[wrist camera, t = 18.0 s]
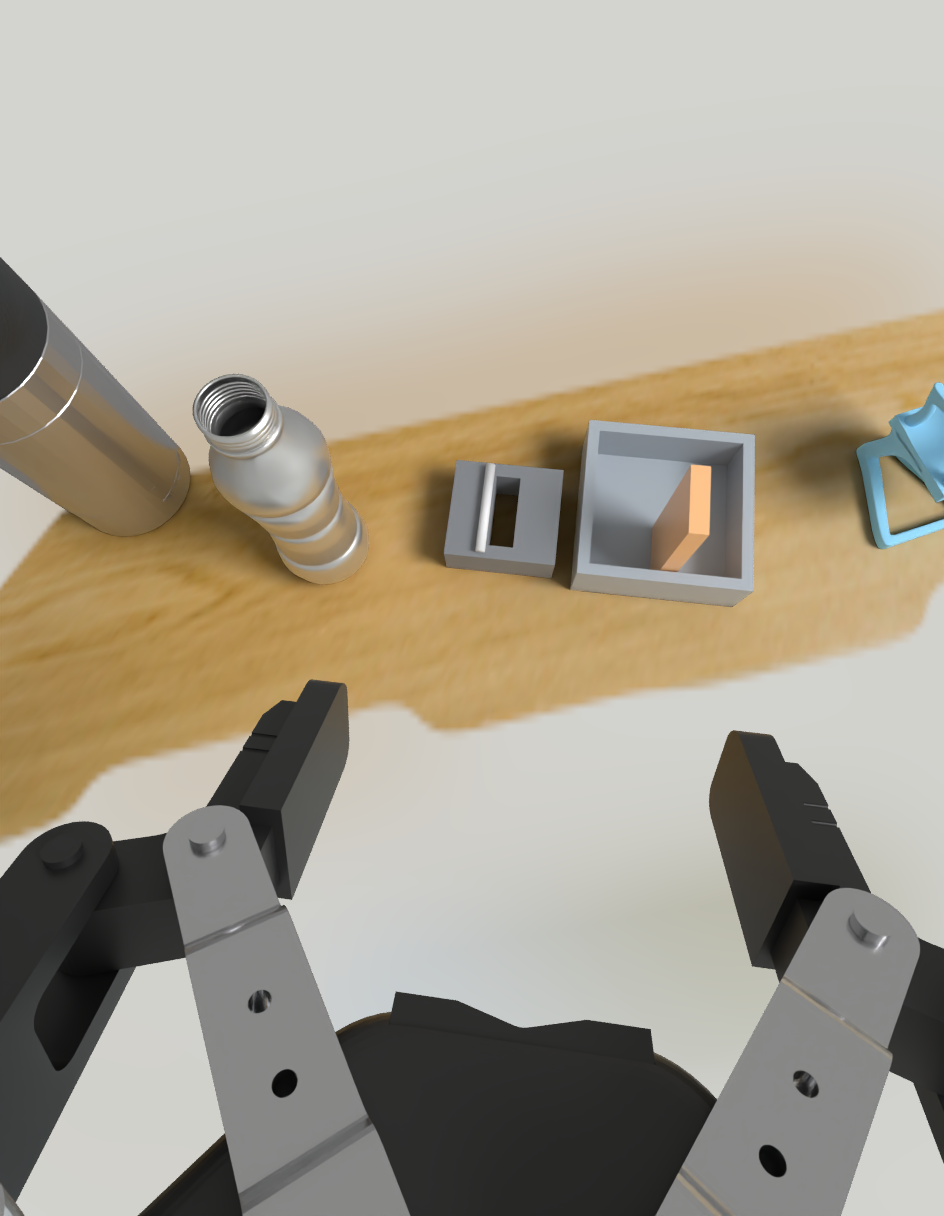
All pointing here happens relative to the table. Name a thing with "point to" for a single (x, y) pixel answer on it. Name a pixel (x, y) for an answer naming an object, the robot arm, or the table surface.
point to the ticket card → (682, 521)
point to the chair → (907, 463)
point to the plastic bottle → (280, 478)
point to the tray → (634, 499)
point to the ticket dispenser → (476, 516)
